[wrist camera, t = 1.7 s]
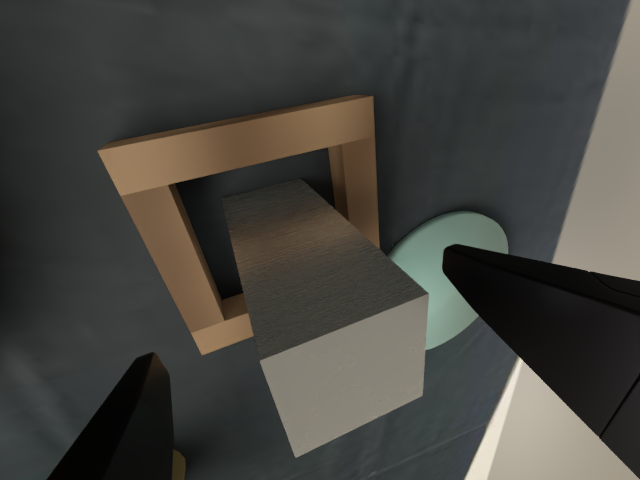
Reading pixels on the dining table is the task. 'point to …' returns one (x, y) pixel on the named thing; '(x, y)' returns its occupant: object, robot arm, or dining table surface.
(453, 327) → the teal coaster
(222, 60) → the dining table surface
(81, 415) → the dining table surface
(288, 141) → the walnut collar
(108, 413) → the robot arm
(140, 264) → the dining table surface
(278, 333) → the steel bar
